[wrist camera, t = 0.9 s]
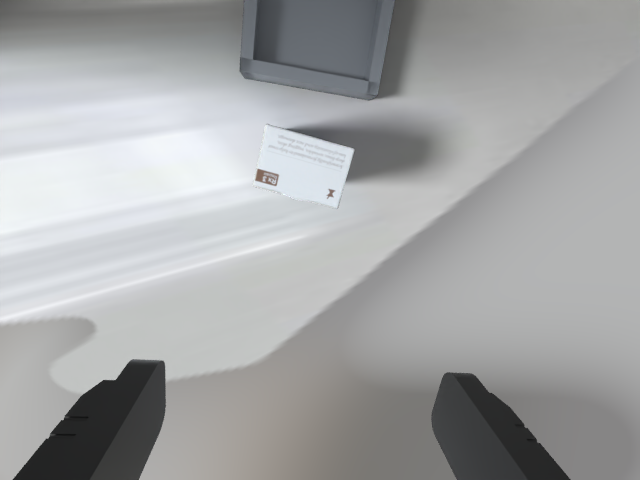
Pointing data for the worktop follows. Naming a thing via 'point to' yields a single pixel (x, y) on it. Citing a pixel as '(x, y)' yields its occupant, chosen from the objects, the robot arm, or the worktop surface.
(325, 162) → the skincare box
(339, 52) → the tray
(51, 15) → the worktop surface
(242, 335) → the worktop surface
